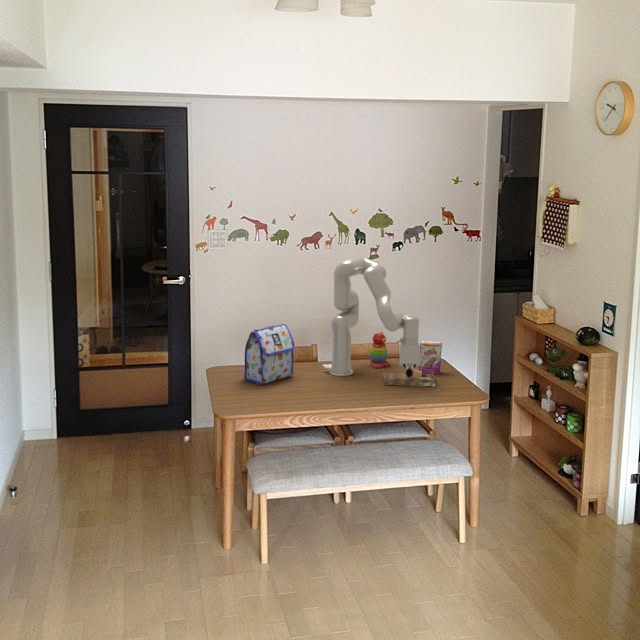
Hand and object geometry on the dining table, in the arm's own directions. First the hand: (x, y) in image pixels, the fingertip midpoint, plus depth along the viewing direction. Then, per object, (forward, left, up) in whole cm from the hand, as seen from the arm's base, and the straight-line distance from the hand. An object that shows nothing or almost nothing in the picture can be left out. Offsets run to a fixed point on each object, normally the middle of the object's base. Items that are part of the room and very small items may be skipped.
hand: (408, 376), depth 422 cm
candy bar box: (+12, +20, -4) cm, 24 cm away
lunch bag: (-70, +3, -4) cm, 70 cm away
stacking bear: (-14, +32, -4) cm, 35 cm away
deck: (0, +4, -4) cm, 5 cm away
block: (+3, +1, -1) cm, 3 cm away
